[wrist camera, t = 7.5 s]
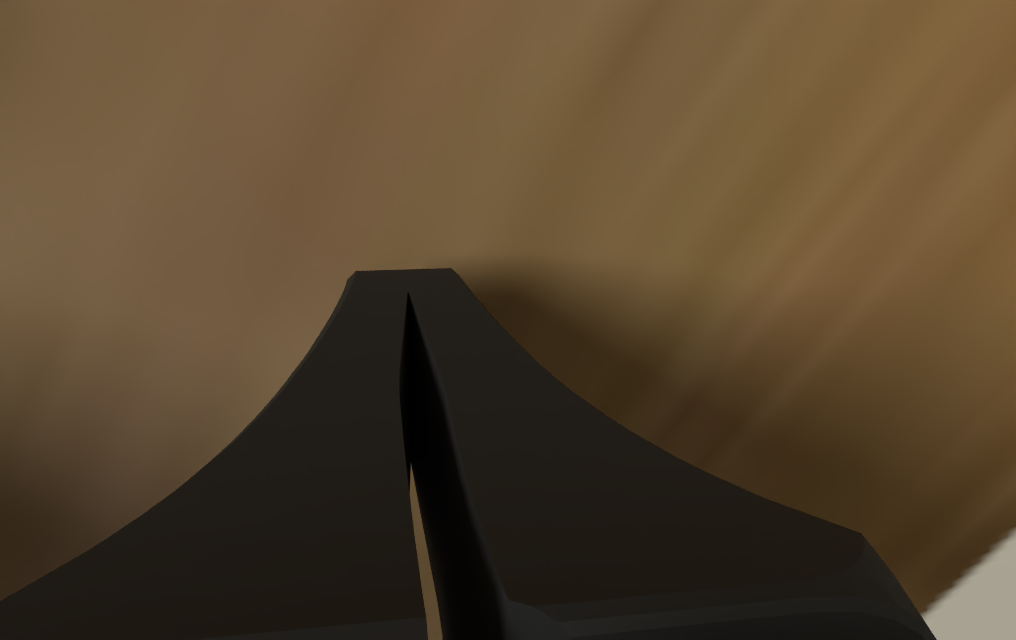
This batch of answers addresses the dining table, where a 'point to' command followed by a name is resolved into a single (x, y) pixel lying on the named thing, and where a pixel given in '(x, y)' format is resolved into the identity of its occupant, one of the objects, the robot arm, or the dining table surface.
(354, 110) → the dining table surface
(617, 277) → the dining table surface
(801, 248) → the dining table surface
